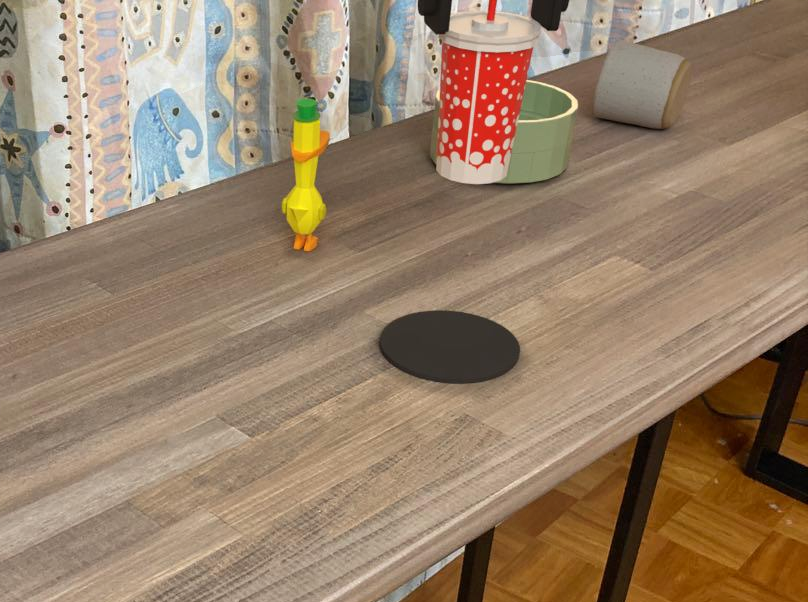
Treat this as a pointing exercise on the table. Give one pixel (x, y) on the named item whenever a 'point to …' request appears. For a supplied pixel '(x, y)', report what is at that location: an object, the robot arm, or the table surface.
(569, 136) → the bowl
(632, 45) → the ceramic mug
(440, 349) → the coaster
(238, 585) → the table surface
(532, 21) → the beverage cup
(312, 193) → the toy figure
